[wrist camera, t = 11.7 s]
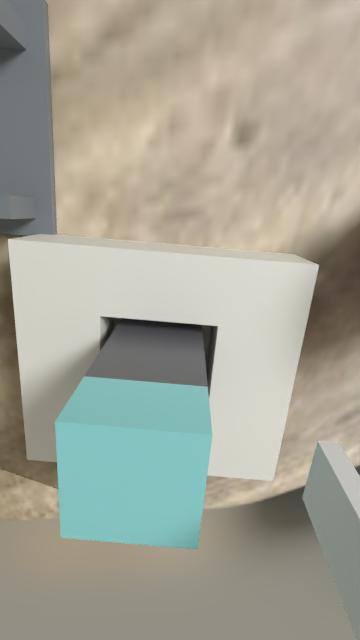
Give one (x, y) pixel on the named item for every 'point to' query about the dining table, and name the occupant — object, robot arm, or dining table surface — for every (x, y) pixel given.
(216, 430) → the port
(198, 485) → the plug
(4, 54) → the holster
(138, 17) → the dining table surface
